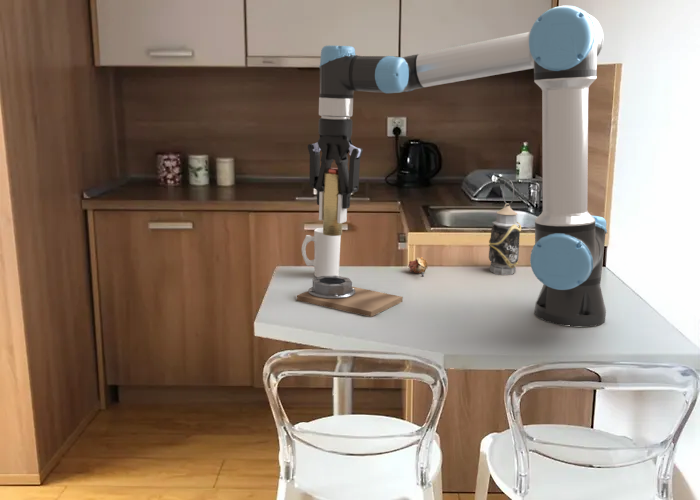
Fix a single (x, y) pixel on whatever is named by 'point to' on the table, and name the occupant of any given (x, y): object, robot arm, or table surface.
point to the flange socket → (331, 287)
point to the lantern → (504, 241)
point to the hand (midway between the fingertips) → (332, 220)
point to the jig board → (356, 301)
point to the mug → (323, 253)
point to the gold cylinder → (331, 203)
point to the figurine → (418, 265)
